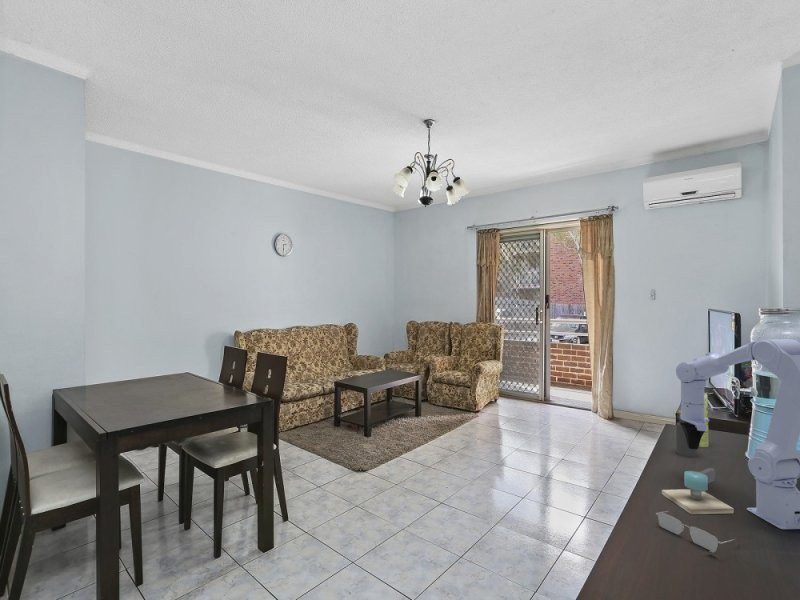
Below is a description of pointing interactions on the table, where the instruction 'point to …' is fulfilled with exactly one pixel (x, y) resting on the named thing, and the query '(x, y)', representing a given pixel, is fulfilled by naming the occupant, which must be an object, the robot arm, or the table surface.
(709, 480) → the teal grey handled piece
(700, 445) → the tube
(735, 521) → the table surface
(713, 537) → the eyeglasses
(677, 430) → the bottle
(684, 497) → the post block
